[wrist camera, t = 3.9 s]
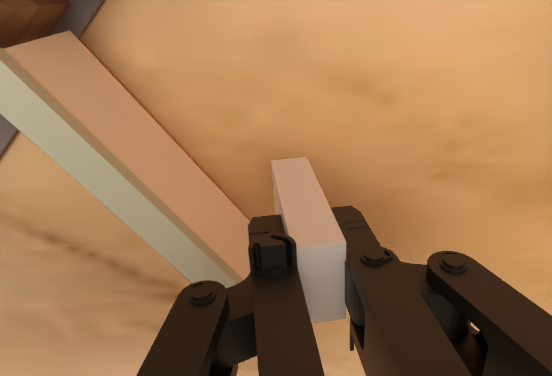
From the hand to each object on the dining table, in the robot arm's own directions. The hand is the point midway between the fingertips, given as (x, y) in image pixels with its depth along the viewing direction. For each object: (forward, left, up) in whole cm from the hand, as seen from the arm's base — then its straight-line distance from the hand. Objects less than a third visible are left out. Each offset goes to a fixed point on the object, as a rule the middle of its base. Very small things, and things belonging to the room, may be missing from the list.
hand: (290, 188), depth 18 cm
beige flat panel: (-6, 0, -7) cm, 9 cm away
